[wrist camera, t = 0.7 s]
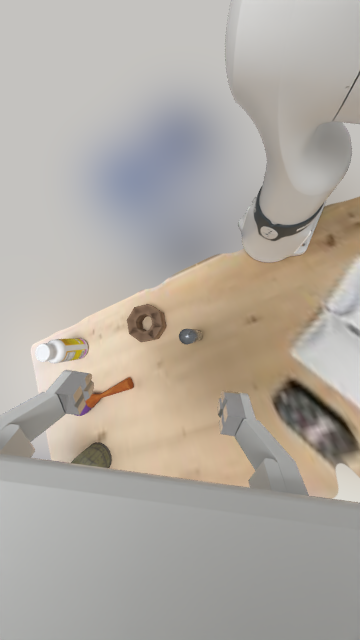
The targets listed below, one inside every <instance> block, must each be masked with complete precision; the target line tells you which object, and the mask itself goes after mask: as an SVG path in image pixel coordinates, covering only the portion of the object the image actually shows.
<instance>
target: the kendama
mask: <svg viewBox="0 0 360 640" xmlns="http://www.w3.org/2000/svg"><path fill="white" fill-rule="evenodd" d="M133 387H134V384H133V382H132V379H131V378H127V379H125V380H124V381H122V382H120V383H119V384H117V385H115V386H113V387H112V388H110V389H108V390H107V391H105V392H103V393H102V394H92V395H91V397H90V398H89V399H87V400H86V401H85V402H86V405H85V407H84V409H83V410H82V412H81V414H80V415H76V416H82V415H84V414H86V413H88V412H89V410H90V409H91V408H93V407H94V406H95V405H96V404H97V402H98V401H99V400H100V399H101V398H103V397H106V396H109V395H113V394H116V393H119V392H122V391H126V390H129V389H132V388H133Z"/></svg>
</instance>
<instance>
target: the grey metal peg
mask: <svg viewBox="0 0 360 640" xmlns="http://www.w3.org/2000/svg"><path fill="white" fill-rule="evenodd" d="M202 337H203V335H202V332H201V331H199V330H192V329H184V330H182V331H181V332H180V334H179V339H180V341H181V342H182V343H183V344H190V343H193V342H196V341H199V340H201V339H202Z"/></svg>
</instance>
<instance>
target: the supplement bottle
mask: <svg viewBox="0 0 360 640" xmlns="http://www.w3.org/2000/svg"><path fill="white" fill-rule="evenodd" d="M87 352H88V345H87V343H86V341H85V340H83V339H81V338H75V339H55V340H51V341H49V342H48V343H46V344H40V345H39V346H38V347H37V349H36V353H35V354H36V358H37V359H38V360H39V361H41V362H45V361H49V362H50V363H60V362H65V361H70V360H76V359H80V358H83V357H84V356H85V355H86V354H87Z"/></svg>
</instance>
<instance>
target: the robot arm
mask: <svg viewBox="0 0 360 640" xmlns="http://www.w3.org/2000/svg"><path fill="white" fill-rule="evenodd" d="M225 61H226V72H227V78H228V83H229V86H230V90H231V93H232V95H233V97H234V100H235V101H236V102H237V103H238V104H239V105H240V106H241V107H242V108H243V109H244V110H245V111H246V113H247V114H248V115H249V116H250V118H251V119H252V121H253V122H254V124H255V125H256V127H257V129H258V131H259V133H260V136H261V138H262V141H263V144H264V147H265V151H266V157H267V165H266V172H265V177H264V182H263V186H262V187H261V189H260V191H259V193H258V195H257V197H255V198H254V200H253V204H252V205H251V206H249V207H248V210H247V212H246V213H245V215H244V216H243V217H242V218H241V219H240V220H239V222H238V227H239V229H240V231H241V233H242V243H243V247H244V249H245V251H246V252H247V253H248V254H249V255H250V256H251V257H252V258H254V259H256V260H258V261H261V262H277V261H280V260H283V259H285V258H287V257H289V256H297V255H302V254H304V253H305V251H306V250H307V247H308V245H309V242H310V240H311V237H312V235H313V232H314V230H315V227H316V225H317V223H318V220H319V218H320V215H321V213H322V210H323V208H324V205H325V203H326V199H327V198H328V197H329V195H330V194H331V193H332V191H333V190H334V189H335V188H336V186H337V185H338V184H339V183H340V181H341V180H342V179H343V177H344V176H345V174H346V172H347V170H348V168H349V165H350V161H351V156H352V147H351V139H350V135H349V132H348V130H347V128H346V127H345V126H344V125H343V123H342V122H344V123H354V124H360V0H231V4H230V8H229V13H228V20H227V27H226V39H225ZM302 244H303V245H304V246H301V245H302ZM91 379H92V375H91V374H89V373H83V372H77V371H70V370H65V371H63V372H62V374H61V375H60V376H59V377H58V378H57V379H56V381H55V382H54V383H53V384H52V385H51V386H50V388H49V389H48V390H47V391H46V392H42V393H40V394H38V395H37V396H35V397H33V398H31V399H29V400H28V401H26V402H24V403H22V404H20V405H18V406H16V407H15V408H13V409H11V410H9V411H8V412H5V413H3V414H2V415H0V640H360V503H358V502H351V501H344V500H336V499H329V498H322V497H315V496H309V494H308V492H307V489H306V487H305V484H304V482H303V480H302V477H301V475H300V472H299V470H298V467H297V465H296V462H295V461H294V460H293V459H292V457H291V456H290V455H289V454H288V453H287V452H286V451H285V450H284V448H283V447H282V446H281V445H280V444H279V443H278V442H277V441H276V439H275V438H274V437H273V436H272V435H271V434H270V433H269V432H268V430H267V429H266V428H265V427H264V426H263V425H262V424H261V423H260V421H258V420H256V418H255V415H254V412H253V408H252V405H251V402H250V398H249V395H248V394H246V393H238V392H232V391H222V392H221V398H220V399H219V401H218V415H219V417H220V421H219V427H220V434H224V435H231V436H235V438H236V440H237V442H238V443H239V445H240V446H241V448H242V450H243V451H244V453H245V454H246V456H247V458H248V459H249V461H250V462H251V464H252V466H253V467H254V469H255V472H254V474H253V475H252V476H251V478H250V479H249V485H250V488H249V487H242V486H234V485H227V484H220V483H212V482H205V481H198V480H190V479H183V478H176V477H169V476H161V475H154V474H147V473H139V472H132V471H125V470H117V469H110V468H103V467H96V466H88V465H81V464H74V463H66V462H59V461H52V460H44V459H37V458H31V456H32V455H33V453H34V452H35V449H34V447H33V445H32V444H31V443H30V442H31V441H32V440H34V439H35V438H36V437H37V436H39V435H40V434H41V433H42V432H44V431H45V430H46V429H48V428H49V427H50V426H51V425H53V424H54V423H55V422H56V421H58V420H59V419H60V418H62V417H63V416H64V415H65V414H74V415H80V414H81V412H82V410H83V409H84V407H85V405H86V402H85V401H86V400H87V399H89V398H90V397H91V395H92V393H93V389H94V383H93V382H92V381H91Z"/></svg>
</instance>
